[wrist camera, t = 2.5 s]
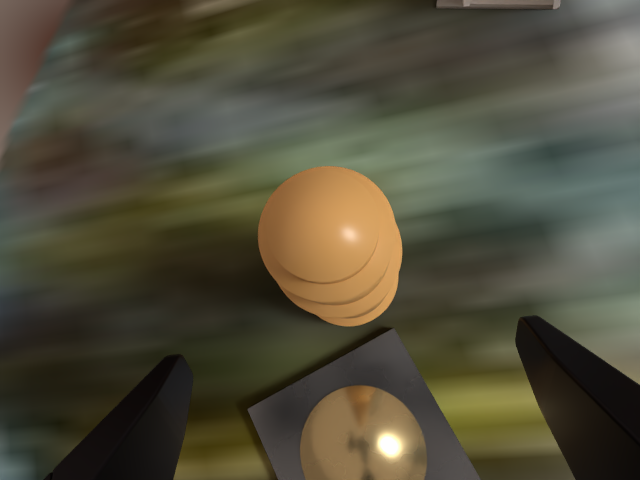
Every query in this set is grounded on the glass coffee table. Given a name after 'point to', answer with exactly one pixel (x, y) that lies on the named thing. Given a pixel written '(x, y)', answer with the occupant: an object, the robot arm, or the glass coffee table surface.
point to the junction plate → (361, 422)
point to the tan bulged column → (332, 244)
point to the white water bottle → (499, 4)
